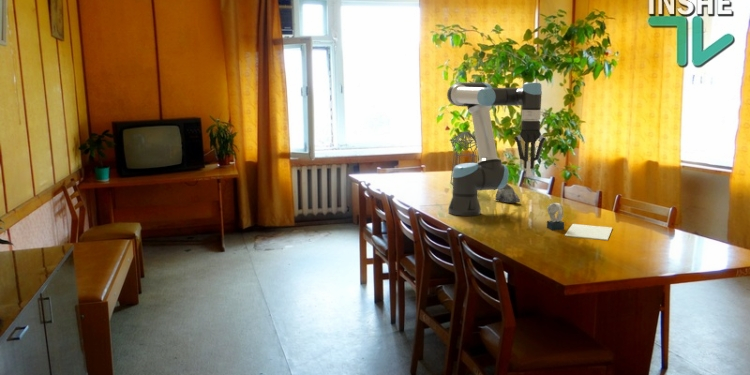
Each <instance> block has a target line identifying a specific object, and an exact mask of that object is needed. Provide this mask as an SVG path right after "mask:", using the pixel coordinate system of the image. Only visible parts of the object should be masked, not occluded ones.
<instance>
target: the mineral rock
mask: <svg viewBox="0 0 750 375" xmlns="http://www.w3.org/2000/svg"><path fill="white" fill-rule="evenodd" d="M494 199H495V201H496V202H502V203H508V204H512V203H514V204H516V203H521V199H520V197H519V196H518V194H517V193H516V192H515V190H514V188H513V187H512V186H511V185H509V184H508V183H507V184H506V185H505V187H504V188H502V189H496V194H495V198H494Z"/></svg>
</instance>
